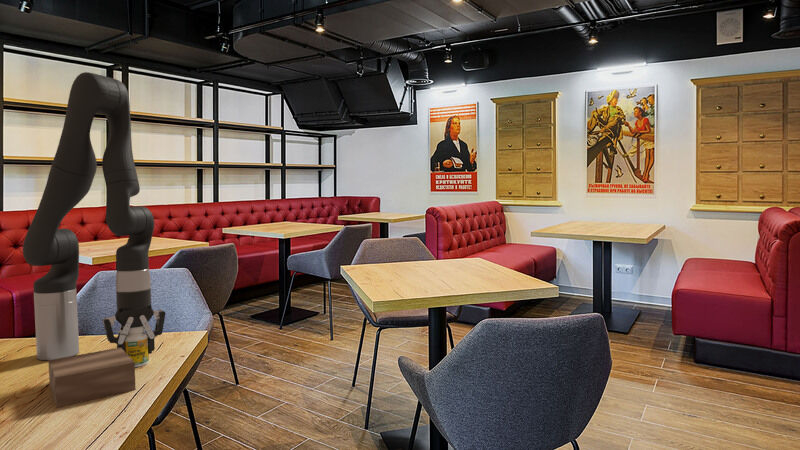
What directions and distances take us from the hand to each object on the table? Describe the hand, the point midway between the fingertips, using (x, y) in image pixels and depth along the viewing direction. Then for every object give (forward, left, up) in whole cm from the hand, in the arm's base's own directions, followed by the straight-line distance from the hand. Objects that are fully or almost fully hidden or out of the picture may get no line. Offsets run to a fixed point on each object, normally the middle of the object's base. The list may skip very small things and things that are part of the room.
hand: (136, 355), depth 124 cm
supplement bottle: (0, 0, -3) cm, 3 cm away
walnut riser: (+11, -11, -2) cm, 16 cm away
